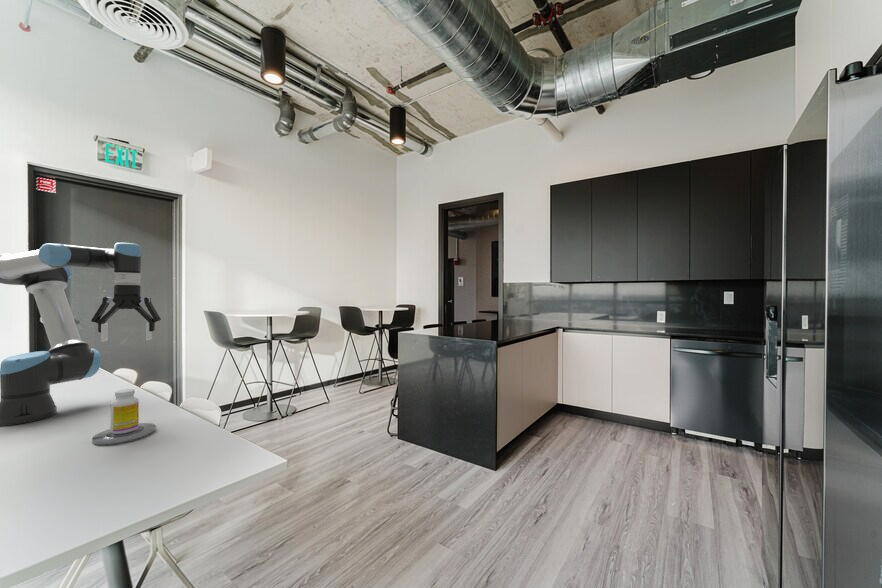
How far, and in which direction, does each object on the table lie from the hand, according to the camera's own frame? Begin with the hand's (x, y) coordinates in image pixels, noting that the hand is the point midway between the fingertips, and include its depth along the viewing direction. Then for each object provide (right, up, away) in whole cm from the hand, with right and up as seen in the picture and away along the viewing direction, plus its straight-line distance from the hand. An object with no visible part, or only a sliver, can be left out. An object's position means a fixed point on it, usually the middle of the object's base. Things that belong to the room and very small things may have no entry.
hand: (127, 340), depth 133 cm
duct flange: (+18, -28, -21) cm, 39 cm away
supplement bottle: (+18, -26, -21) cm, 38 cm away
